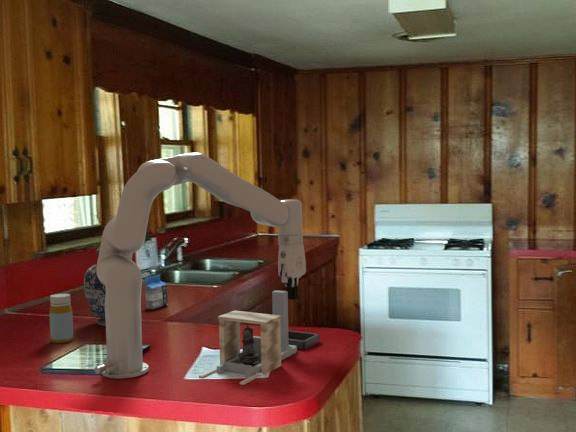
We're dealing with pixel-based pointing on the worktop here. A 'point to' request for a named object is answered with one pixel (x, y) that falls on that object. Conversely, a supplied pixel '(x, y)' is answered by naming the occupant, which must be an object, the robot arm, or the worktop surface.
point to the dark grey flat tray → (302, 339)
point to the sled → (286, 350)
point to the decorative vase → (95, 293)
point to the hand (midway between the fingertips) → (292, 298)
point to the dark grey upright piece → (248, 348)
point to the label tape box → (155, 292)
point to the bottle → (61, 318)
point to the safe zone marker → (240, 382)
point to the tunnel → (269, 337)
